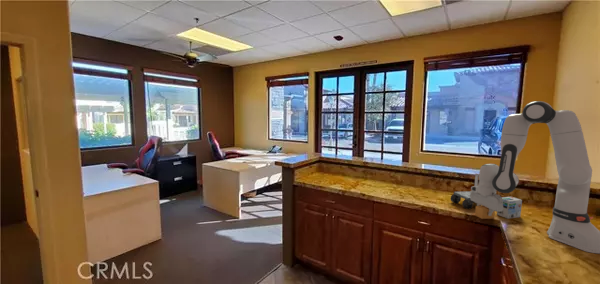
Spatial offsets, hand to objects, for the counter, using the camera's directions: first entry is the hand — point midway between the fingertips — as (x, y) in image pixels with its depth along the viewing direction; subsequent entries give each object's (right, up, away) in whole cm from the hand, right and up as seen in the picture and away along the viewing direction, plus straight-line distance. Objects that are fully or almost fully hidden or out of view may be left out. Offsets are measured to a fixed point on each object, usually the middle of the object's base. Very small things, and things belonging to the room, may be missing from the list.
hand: (484, 213), depth 155 cm
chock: (0, -2, 0) cm, 2 cm away
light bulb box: (+16, -2, +2) cm, 16 cm away
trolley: (+5, 0, +20) cm, 20 cm away
